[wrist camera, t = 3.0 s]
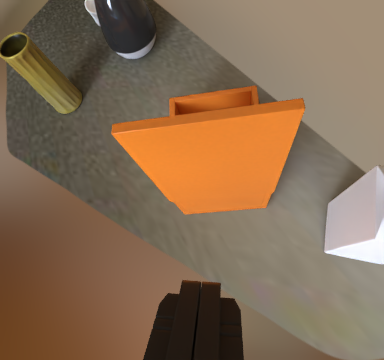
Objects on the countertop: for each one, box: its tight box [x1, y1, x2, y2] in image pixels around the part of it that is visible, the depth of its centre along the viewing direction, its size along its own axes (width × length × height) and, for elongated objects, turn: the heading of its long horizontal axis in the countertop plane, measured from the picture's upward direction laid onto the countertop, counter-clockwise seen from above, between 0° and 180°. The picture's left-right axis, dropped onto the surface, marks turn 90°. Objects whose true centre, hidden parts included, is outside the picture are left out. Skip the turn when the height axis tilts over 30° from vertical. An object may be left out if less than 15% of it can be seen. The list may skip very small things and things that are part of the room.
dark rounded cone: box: [94, 0, 156, 59], centre depth 48 cm, size 10×10×15 cm
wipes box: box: [170, 86, 272, 214], centre depth 39 cm, size 16×13×9 cm
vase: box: [0, 32, 82, 114], centre depth 47 cm, size 6×6×14 cm
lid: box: [112, 98, 305, 202], centre depth 25 cm, size 16×13×1 cm
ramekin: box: [85, 0, 100, 26], centre depth 58 cm, size 9×9×4 cm
